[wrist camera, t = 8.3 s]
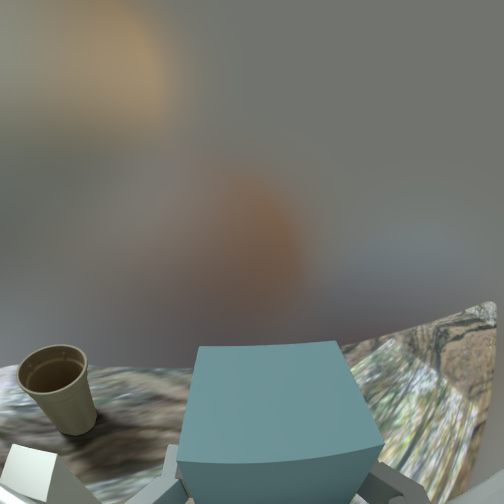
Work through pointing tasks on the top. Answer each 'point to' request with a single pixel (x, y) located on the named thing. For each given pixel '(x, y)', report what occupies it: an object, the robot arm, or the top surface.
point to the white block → (43, 478)
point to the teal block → (276, 426)
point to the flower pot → (60, 387)
